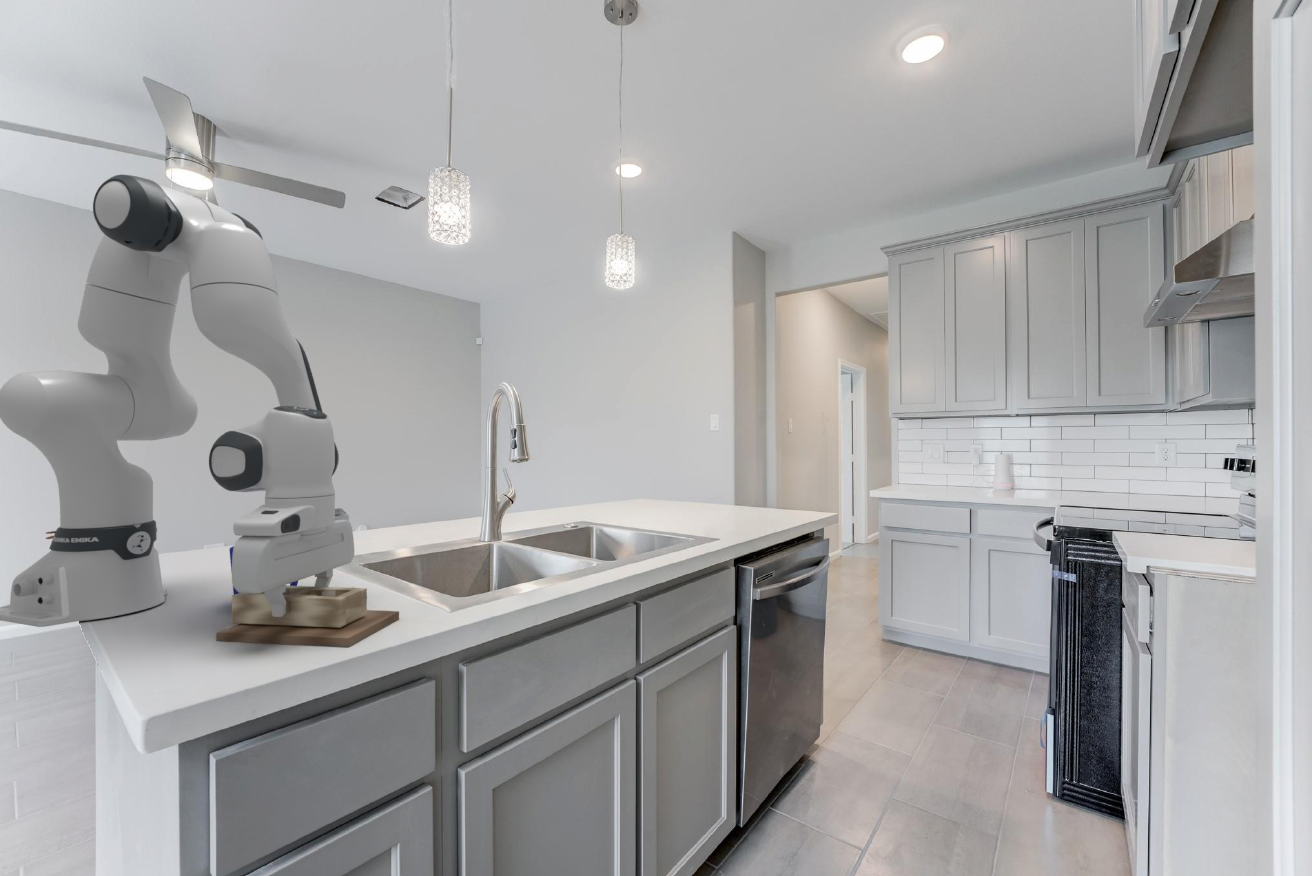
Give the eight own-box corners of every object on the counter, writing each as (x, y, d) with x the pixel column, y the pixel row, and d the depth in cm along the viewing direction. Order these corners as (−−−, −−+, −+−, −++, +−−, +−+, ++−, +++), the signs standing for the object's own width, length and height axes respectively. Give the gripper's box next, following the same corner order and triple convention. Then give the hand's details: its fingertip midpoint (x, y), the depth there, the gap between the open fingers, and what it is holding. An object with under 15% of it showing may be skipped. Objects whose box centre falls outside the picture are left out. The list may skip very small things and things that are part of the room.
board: (216, 640, 79) (216, 600, 79) (283, 614, 90) (283, 579, 90) (348, 647, 76) (348, 605, 76) (399, 619, 88) (399, 582, 88)
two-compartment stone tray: (232, 623, 82) (232, 595, 82) (265, 610, 88) (265, 584, 88) (340, 627, 80) (340, 599, 80) (366, 614, 85) (366, 588, 86)
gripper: (329, 506, 94) (329, 588, 94) (221, 524, 74) (221, 629, 74) (364, 506, 94) (364, 589, 93) (265, 525, 73) (265, 631, 73)
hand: (300, 607), depth 84 cm, fingers closed on two-compartment stone tray, 6 cm apart
